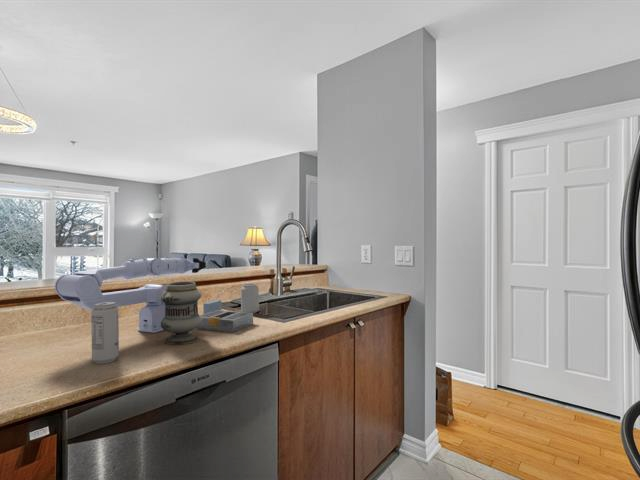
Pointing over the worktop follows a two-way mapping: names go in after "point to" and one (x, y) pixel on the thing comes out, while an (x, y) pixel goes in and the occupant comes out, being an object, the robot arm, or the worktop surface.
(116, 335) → the energy drink can
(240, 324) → the rack
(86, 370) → the worktop surface
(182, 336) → the apothecary jar
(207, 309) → the block
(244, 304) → the can
